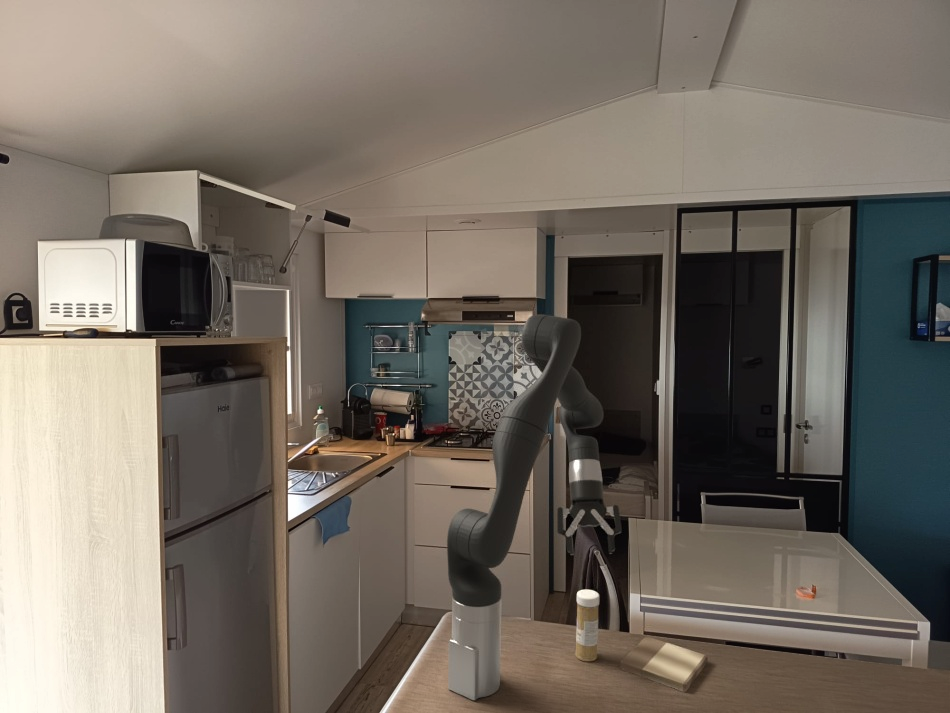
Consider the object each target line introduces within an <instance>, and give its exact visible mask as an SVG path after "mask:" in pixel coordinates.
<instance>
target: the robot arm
mask: <svg viewBox="0 0 950 713" xmlns="http://www.w3.org/2000/svg"><path fill="white" fill-rule="evenodd" d="M521 332H522V333H521V345H522V349H523V350H524V353H525V354H526V355H527V357H528V358H529V359H530V360H531V361H532V363H533V364H534V365H535V366H536V368H537V369H538V370H539V371H540V373H541V374H540V375H539V377H538V378H536V380H535V381H534V382H533V383H531V385H529V387H528V388H526V389H525V390H524V391H522V392H521V393H520V394H519V395H518V396H517V397H515V398H514V399H513V400H512V401H511V402H510V403H508V405H507V406H506V407H505V409H504V410H503V412H502V414H501V416H500V419H499V421H498V424H497V428H496V430H495V432H494V436H493V439H492V445H491V446H492V447H491V448H492V449H491V450H492V457H493V458H492V460H493V464H494V466H493V467H494V470H495V471H494V472H495V480H496V481H495V482H496V483H495V484H496V485H495V491H494V495H493V498H492V503H491V505H490V509H489V511H488V513H487V512H484V511H480V510H477V509H473V508H464V509H460V510H459V511H458V512H456V514H455V515H454V516H453V517H452V519H451V521H450V524H449V526H448V530H447V537H446V538H447V539H446V549H447V550H446V555H447V576H448V582H449V585H450V587H451V590H452V592H451V594H452V597H451V598H452V600H451V602H452V603H451V604H452V608H451V610H452V612H451V638H450V639H449V641H448V678H447V679H448V681H447V682H448V690H450V691H451V692H454V693H456V694H458V695H461V696H462V697H465V698H467V699H469V700H472V701H476V700H477V699H479V698H481V699H482V698H485V697H490V696H491V695H494V694H495V693H496V692H497V691H498V690H499V688H500V687H501V648H502V647H501V644H502V643H501V636H502V634H501V633H502V632H501V631H502V629H501V628H502V583H501V581H500V579H499V578H498V577H497V575H495V573H493V571H492V570H491V569H494V568H496V567H498V566H500V565H501V564H502V563H503V562H504V561H505V558H506V557H507V555H508V554H509V551H510V549H511V546H512V543H513V540H514V536H515V533H516V528H517V524H518V521H519V516H520V512H521V507H522V504H523V500H524V497H525V494H526V490H527V488H528V487H527V486H528V484H529V481H530V477H531V474H532V472H533V469H534V465H535V463H536V461H537V458H538V455H539V453H540V449H541V447H542V444H543V441H544V440H545V439H544V438H545V435H546V432H547V429H548V426H549V423H550V420H551V416H552V414H553V410H554V408H555V405H556V402H557V400H558V402H559V404H560V405H559V408H558V418H559V422H560V424H561V427H562V429H563V432H564V435H565V438H566V442H567V448H568V449H567V450H568V462H569V466H568V478H569V479H568V481H569V494H570V496H569V497H570V507H569V508H562V507H558V508H557V516H556V517H557V518H556V519H557V520H556V522H557V528H556V529H557V531H556V532H557V534H558V535H559V536H562V537H565V541H566V542H565V543H566V545H565V547H566V551H567V553H569V555H570V556H574V555H575V554H574V539H573V535H574V534H575V532H576V530H578V528H579V527H581V528H587V527H592V528H594V527H595V528H596V527H598V526H600V527H601V529H603V530H604V531H605V533H606V534H607V544H608V545H607V546H608V554H609V555H612V554H613V552H615V550H616V546H615V544H616V543H615V536H616V535H618V534H621V533H622V532H623V531H622V530H623V528H622V521H621V515H620V510H619V505H616V504H614V505H613V506H606V505H605V499H604V486H603V477H602V476H603V475H602V468H601V463H600V452H599V443H598V440H597V438H595V437H593V436H589V435H581V434H578V433H577V432H576V430H582V429H589V428H590V429H591V428H596V427H598V426H600V425H601V424H602V422H603V419H604V409H603V406H602V403H601V402H600V401H599V399H598V398H597V397H596V396H595V395H593V393H591V391H590V390H589V389H588V388H587V387H586V386H587V385H586V383H585V381H584V378H583V377H582V375H581V374H580V372H579V371H578V370H577V369H576V368H575V367H574V366H573V363H574V360H575V358H576V355H577V353H578V351H579V347H580V343H581V338H582V330H581V325H580V323H579V322H578V321H577V320H575V319H572V318H567V317H561V316H555V315H550V314H549V315H548V314H533V315H531V316H530V317H528V318H527V319H526V321H525V323H524V324H523V327H522V331H521ZM607 513H609V515H610V516H611V517H613V519H614V526H615V528H611V527H610V524H608V522H607V521H606V520H605V519H604V517H605V516H606V514H607ZM568 514H570V516H571V518H573V521H572V522H571V524H570V525H569V527H568V528H567V530H565V529H564V528H565V527H564V525H565V524H564V519H566V518H567V517H568Z"/></svg>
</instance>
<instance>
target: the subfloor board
mask: <svg viewBox="0 0 950 713" xmlns="http://www.w3.org/2000/svg"><path fill="white" fill-rule="evenodd" d="M707 664H708V655H707V654H703V653H700V652H697V651H694V650H692V649H689V648H685V647H681V646H678V645H676V644H673V643H669V642H666V641H663V640H660V639H658V638H657V639H656V638H654V637H651V636H647V635H646V636H645V637H644V638H643V639H641V641H639V643H638V644H637V645H636V646H635V647H634V648H633V649H631V651H629V653H628V654H627V655H625V657H624V658H623V659H622V660H621V661H620V670H622V669H624V670H623V671H625V670H626V671H625V672H627V671H628V672H627V673H631V674H633V673H634V674H633V675H635V676H638V675H639V676H638V677H641V676H642V677H641V678H644V679H647V678H648V679H647V680H649V679H650V681H652V682H655V683H658V684H660V685H664V686H667V687H669V688H671V687H672V689H674V688H675V689H674V690H678V691H680V692H682V693H686V692H687V691H689V689H690V687H691V685H692V684H693V683H694V681H695V680H696V679H697V678H698V676H699V674H700V673H701V672H702V671H703V670H704V668H706V666H707Z"/></svg>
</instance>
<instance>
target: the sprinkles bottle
mask: <svg viewBox="0 0 950 713" xmlns="http://www.w3.org/2000/svg"><path fill="white" fill-rule="evenodd" d="M576 603H577V604H576V605H577V610H576V612H577V613H576V615H577V616H576V632H575V638H576V639H575V640H576V645H575V647H576V648H575V653H574V655H575V657H576V658H577V659H578V660H580V661H582V662H593V661H596V659H598V637H599V636H598V634H599V605H600V594H599V593H598V592H597V591H595V590H593V589H585V588H584V589H581V590H578V591H577V593H576Z"/></svg>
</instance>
